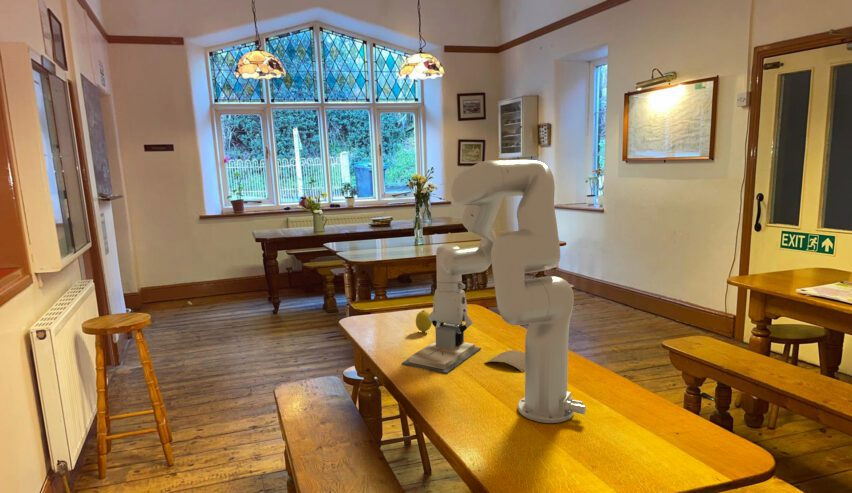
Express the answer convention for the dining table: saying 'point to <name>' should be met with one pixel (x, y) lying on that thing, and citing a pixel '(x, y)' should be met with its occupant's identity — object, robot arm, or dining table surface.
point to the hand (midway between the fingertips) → (450, 342)
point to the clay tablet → (512, 359)
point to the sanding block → (447, 337)
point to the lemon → (423, 321)
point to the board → (441, 357)
